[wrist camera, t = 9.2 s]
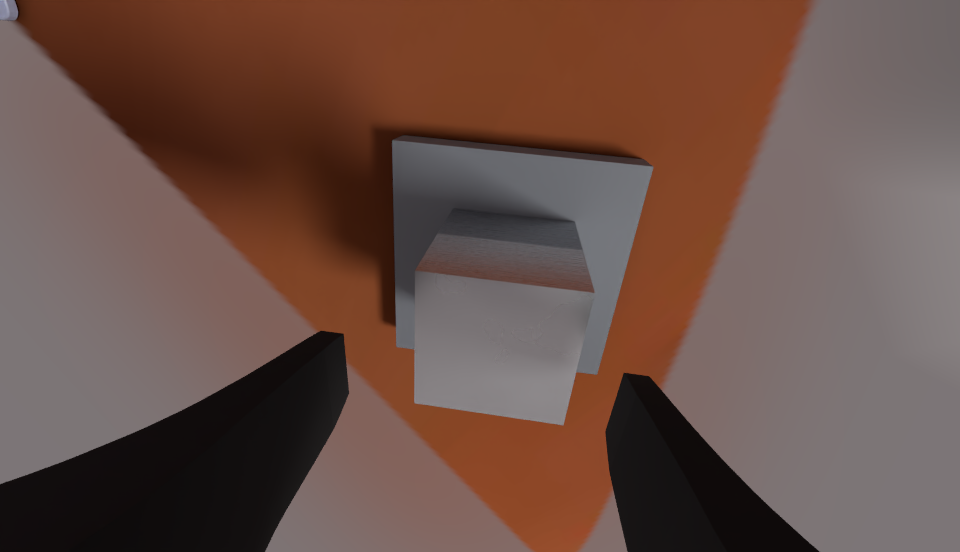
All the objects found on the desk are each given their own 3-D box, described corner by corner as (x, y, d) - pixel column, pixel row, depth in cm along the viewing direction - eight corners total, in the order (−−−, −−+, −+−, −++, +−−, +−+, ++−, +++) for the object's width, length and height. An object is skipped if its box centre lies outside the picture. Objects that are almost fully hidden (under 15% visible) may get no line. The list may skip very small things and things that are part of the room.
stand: (405, 329, 21) (396, 346, 20) (403, 135, 17) (392, 140, 16) (592, 355, 21) (596, 374, 19) (643, 159, 16) (653, 166, 15)
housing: (448, 310, 19) (414, 403, 13) (453, 207, 17) (415, 270, 11) (554, 324, 18) (563, 425, 13) (574, 221, 16) (595, 292, 11)
